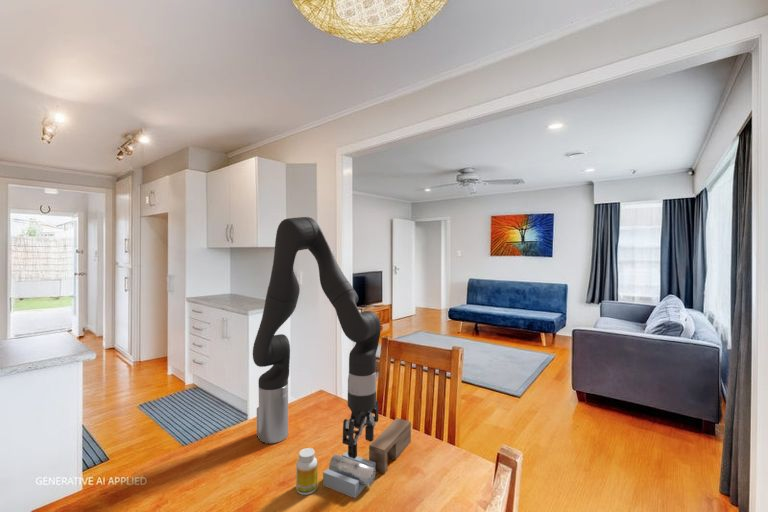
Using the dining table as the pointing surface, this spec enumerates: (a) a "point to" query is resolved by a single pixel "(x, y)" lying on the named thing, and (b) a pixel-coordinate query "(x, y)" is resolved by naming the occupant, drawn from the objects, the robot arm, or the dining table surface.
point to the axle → (352, 469)
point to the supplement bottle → (306, 472)
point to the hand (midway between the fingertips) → (361, 448)
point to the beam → (390, 443)
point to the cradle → (346, 479)
